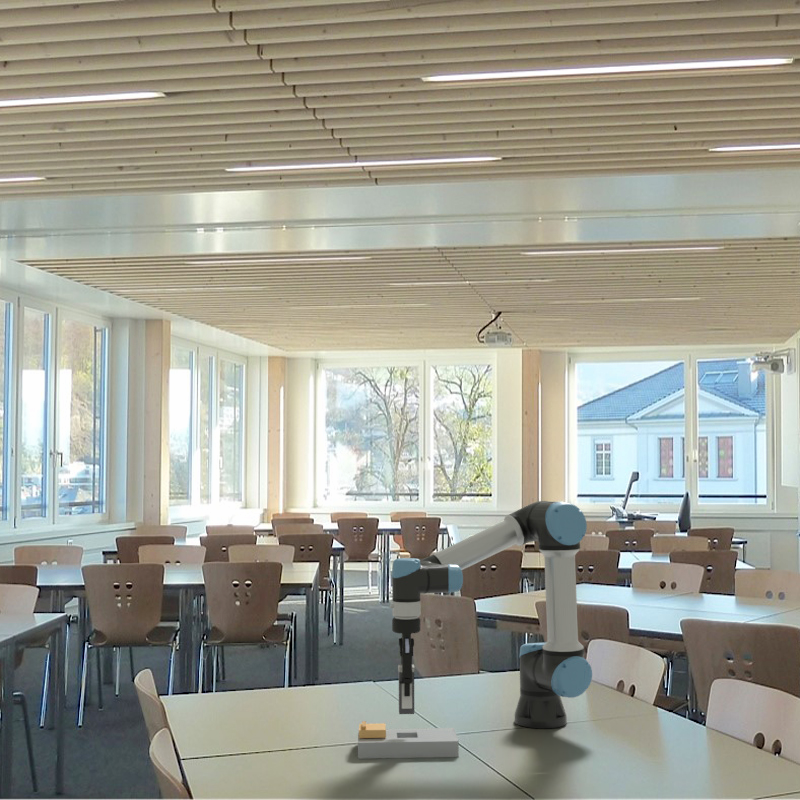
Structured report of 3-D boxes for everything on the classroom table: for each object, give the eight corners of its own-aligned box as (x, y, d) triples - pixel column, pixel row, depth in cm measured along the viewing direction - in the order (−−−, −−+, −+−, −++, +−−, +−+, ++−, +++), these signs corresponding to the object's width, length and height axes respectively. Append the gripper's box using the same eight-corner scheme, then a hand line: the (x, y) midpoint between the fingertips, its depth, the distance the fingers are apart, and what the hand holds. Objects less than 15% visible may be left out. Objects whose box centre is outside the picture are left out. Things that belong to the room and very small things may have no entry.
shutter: (385, 731, 289) (385, 720, 290) (385, 737, 282) (385, 726, 283) (359, 731, 289) (359, 720, 289) (359, 738, 282) (359, 727, 282)
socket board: (454, 742, 293) (454, 727, 293) (458, 756, 279) (458, 741, 279) (358, 744, 292) (358, 729, 293) (357, 758, 278) (357, 742, 279)
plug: (414, 710, 288) (413, 664, 289) (414, 714, 284) (414, 667, 285) (398, 710, 288) (398, 664, 289) (398, 714, 284) (398, 667, 285)
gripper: (391, 612, 296) (391, 699, 295) (392, 621, 279) (393, 713, 278) (418, 612, 296) (419, 699, 295) (422, 621, 279) (422, 713, 278)
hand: (406, 706), depth 286 cm, fingers closed on plug, 4 cm apart
